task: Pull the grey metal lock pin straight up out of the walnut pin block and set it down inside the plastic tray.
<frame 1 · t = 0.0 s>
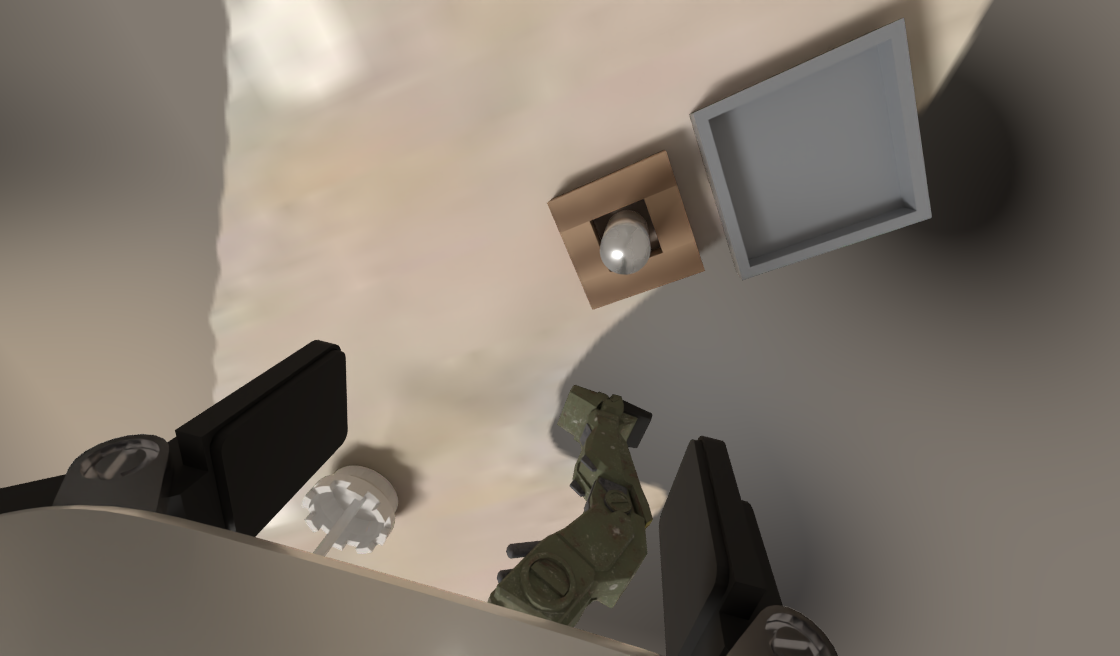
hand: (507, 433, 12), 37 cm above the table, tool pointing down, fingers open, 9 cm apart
lock pin: (625, 240, 42), in the pin block
flag stand: (365, 492, 68), on the table
pin block: (626, 231, 46), on the table
tray: (801, 163, 41), on the table
mechanical leg: (599, 411, 56), on the table
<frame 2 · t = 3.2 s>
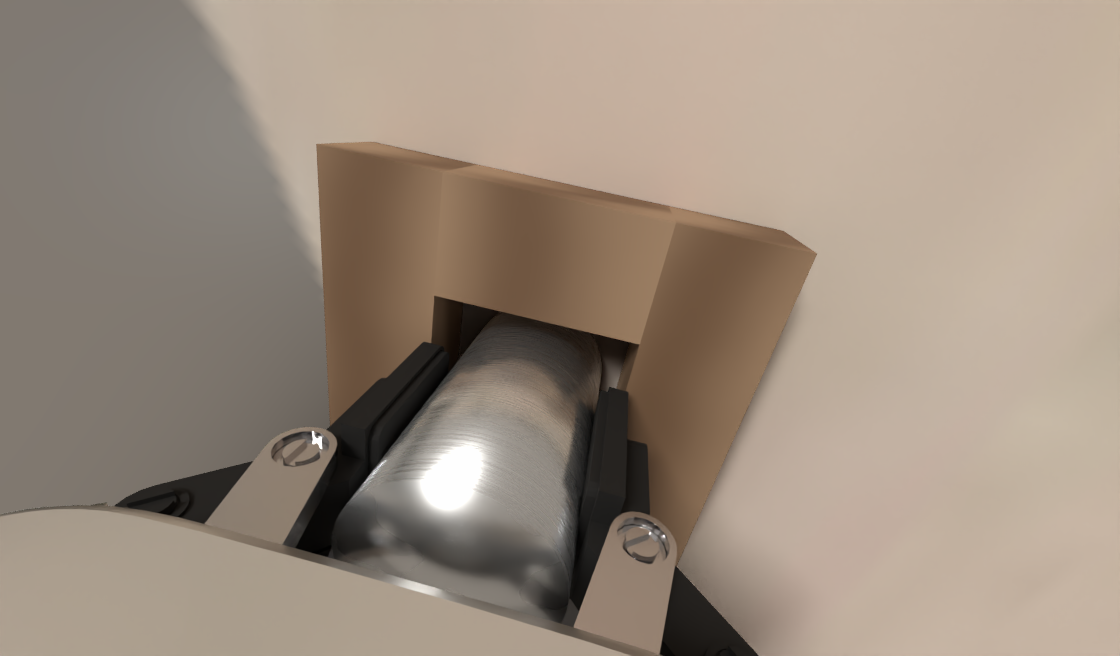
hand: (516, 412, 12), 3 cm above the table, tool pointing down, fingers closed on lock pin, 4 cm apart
lock pin: (506, 437, 11), in the pin block, touching gripper
pin block: (537, 364, 15), on the table
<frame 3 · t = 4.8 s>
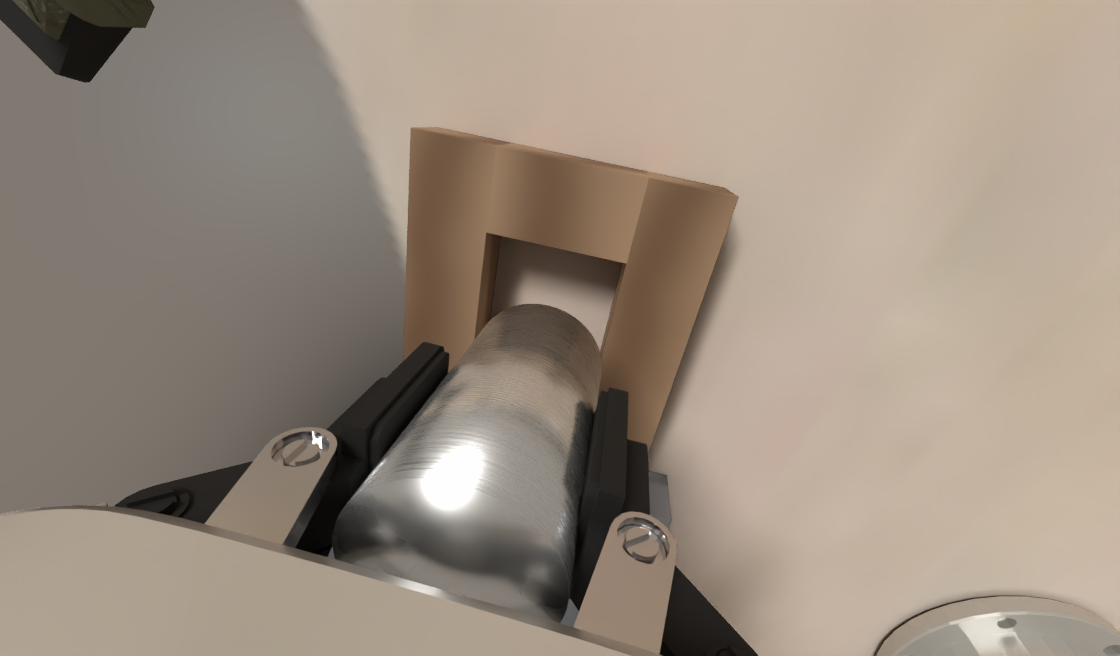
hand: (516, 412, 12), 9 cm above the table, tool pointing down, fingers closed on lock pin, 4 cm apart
lock pin: (506, 436, 12), point 10 cm above the table, touching gripper
pin block: (553, 292, 21), on the table
tray: (506, 538, 28), on the table
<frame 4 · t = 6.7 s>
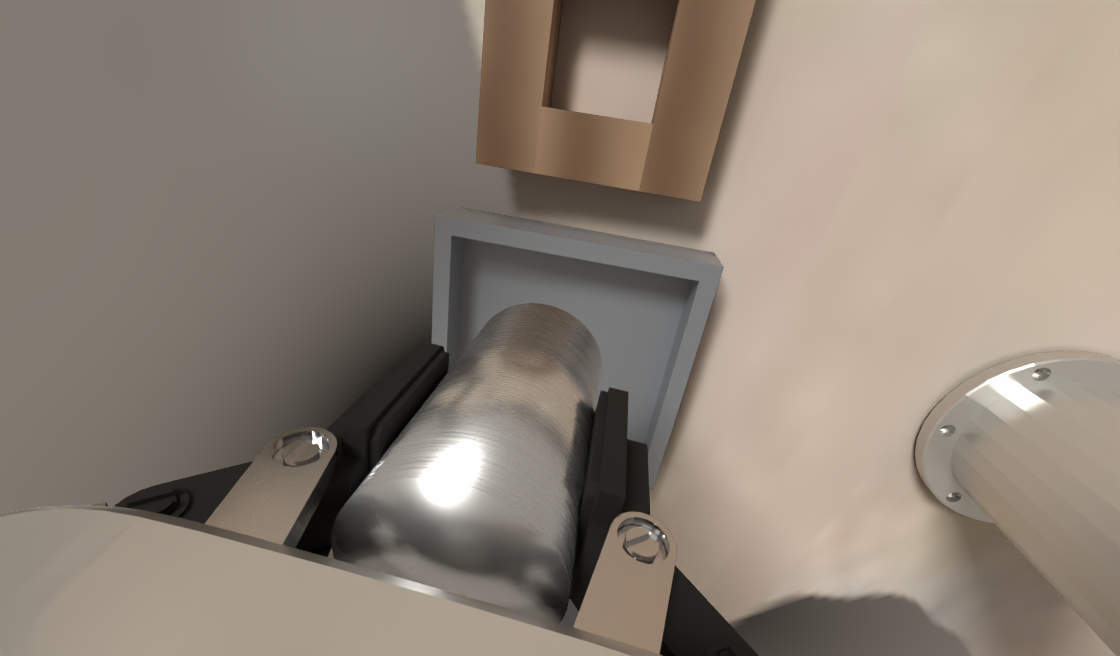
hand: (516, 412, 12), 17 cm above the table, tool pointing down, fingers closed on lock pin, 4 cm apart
lock pin: (506, 436, 11), point 18 cm above the table, touching gripper
pin block: (610, 57, 23), on the table
tray: (562, 345, 30), on the table
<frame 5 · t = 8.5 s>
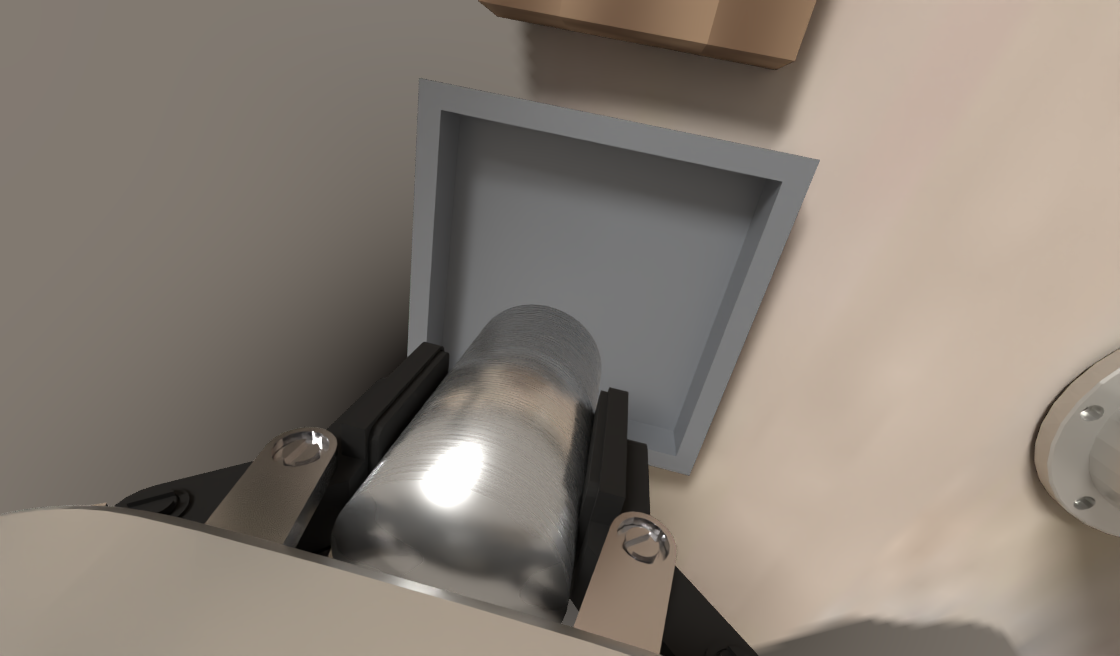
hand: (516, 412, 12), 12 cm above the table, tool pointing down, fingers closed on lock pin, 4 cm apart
lock pin: (506, 437, 11), point 13 cm above the table, touching gripper
tray: (580, 283, 23), on the table
when the fingers open (5 cm above the table, at t = 10.0 s): lock pin drops 1 cm, resting on tray.
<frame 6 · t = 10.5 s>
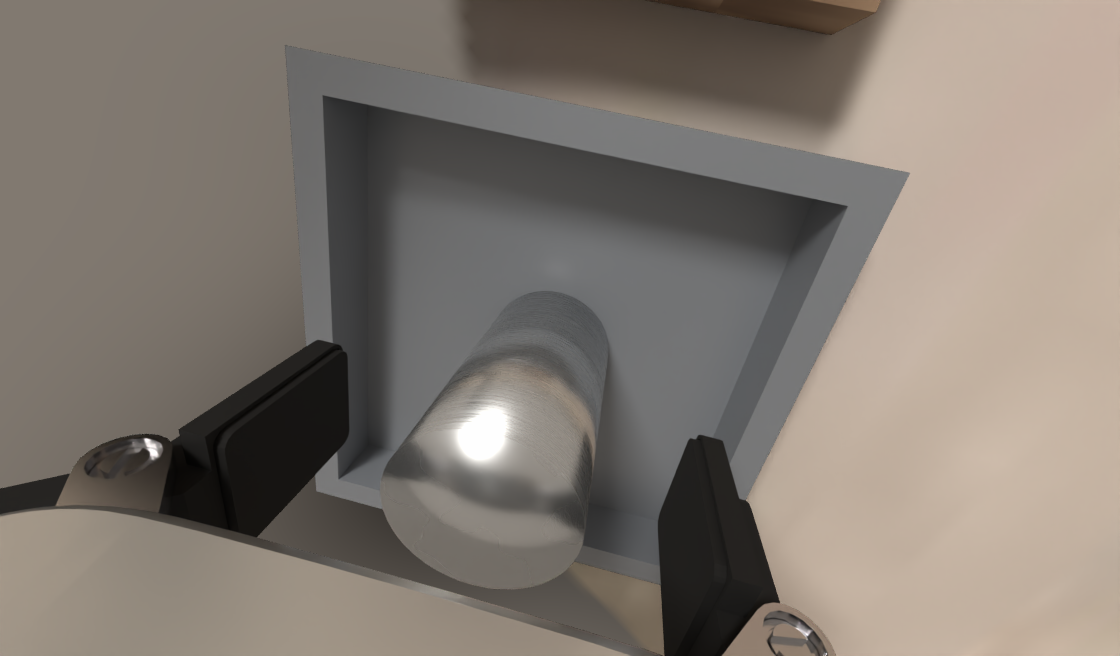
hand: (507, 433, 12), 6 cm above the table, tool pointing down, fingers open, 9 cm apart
lock pin: (524, 408, 13), in the tray, point 5 cm above the table
tray: (549, 336, 17), on the table
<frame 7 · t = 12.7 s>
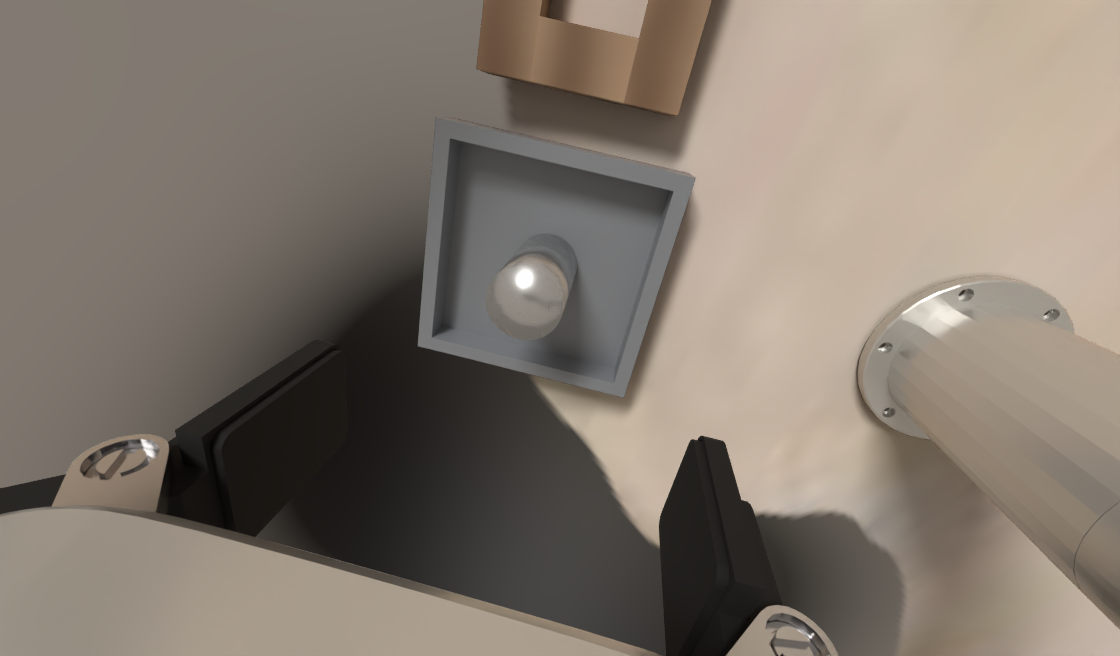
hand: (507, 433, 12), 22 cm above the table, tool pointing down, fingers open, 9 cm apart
lock pin: (536, 281, 28), in the tray, point 5 cm above the table
tray: (546, 260, 32), on the table
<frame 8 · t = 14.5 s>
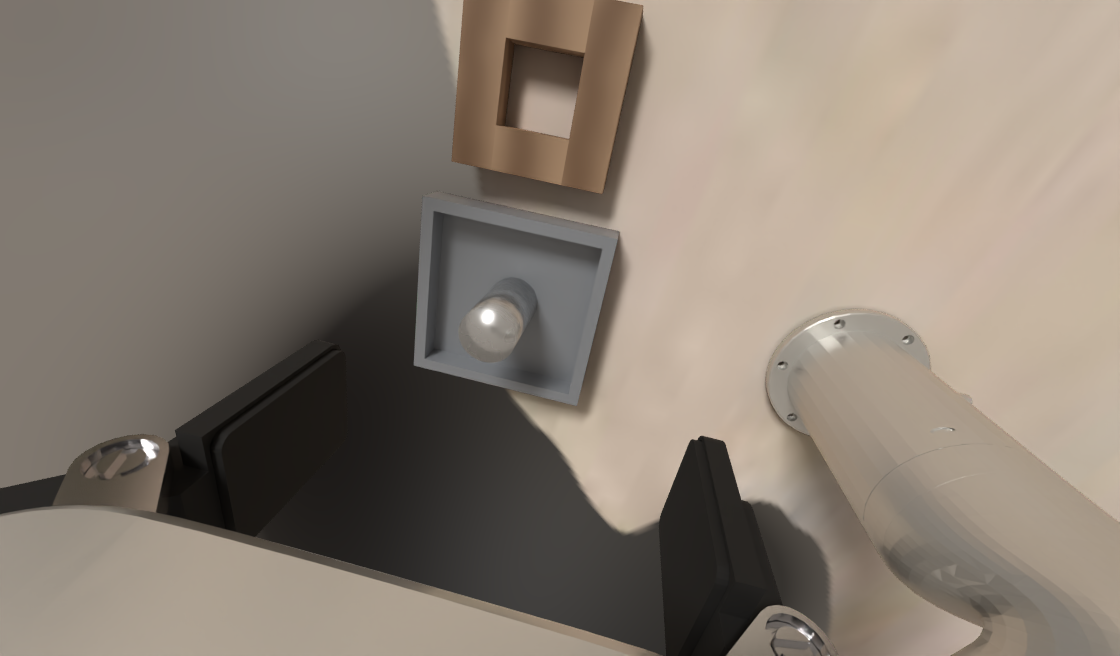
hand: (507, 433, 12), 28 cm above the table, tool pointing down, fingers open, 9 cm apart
lock pin: (501, 316, 37), in the tray, point 5 cm above the table
pin block: (544, 93, 34), on the table
tray: (514, 297, 41), on the table
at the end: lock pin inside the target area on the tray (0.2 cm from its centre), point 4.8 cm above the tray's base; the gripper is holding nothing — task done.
